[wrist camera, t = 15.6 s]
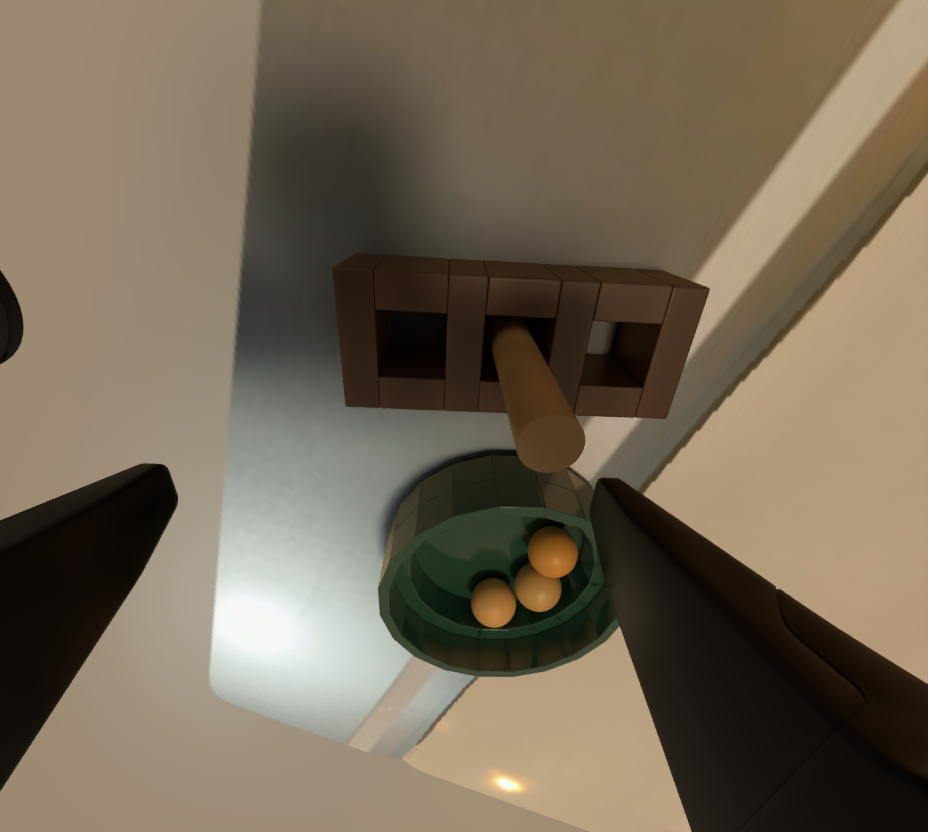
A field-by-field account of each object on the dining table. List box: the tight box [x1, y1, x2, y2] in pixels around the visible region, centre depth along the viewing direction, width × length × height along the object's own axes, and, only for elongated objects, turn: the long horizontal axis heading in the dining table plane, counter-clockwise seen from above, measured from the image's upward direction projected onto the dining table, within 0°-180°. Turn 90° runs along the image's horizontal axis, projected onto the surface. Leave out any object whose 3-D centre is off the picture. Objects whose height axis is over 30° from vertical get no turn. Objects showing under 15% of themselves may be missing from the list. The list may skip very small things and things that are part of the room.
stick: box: [487, 315, 585, 473], centre depth 15 cm, size 2×2×11 cm
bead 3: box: [514, 563, 561, 612], centre depth 26 cm, size 3×3×3 cm
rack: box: [333, 254, 710, 419], centre depth 18 cm, size 14×6×4 cm, turn 87°
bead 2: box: [528, 526, 578, 578], centre depth 25 cm, size 3×3×3 cm
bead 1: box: [471, 578, 516, 628], centre depth 27 cm, size 3×3×3 cm
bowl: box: [378, 455, 620, 677], centre depth 25 cm, size 14×14×5 cm
